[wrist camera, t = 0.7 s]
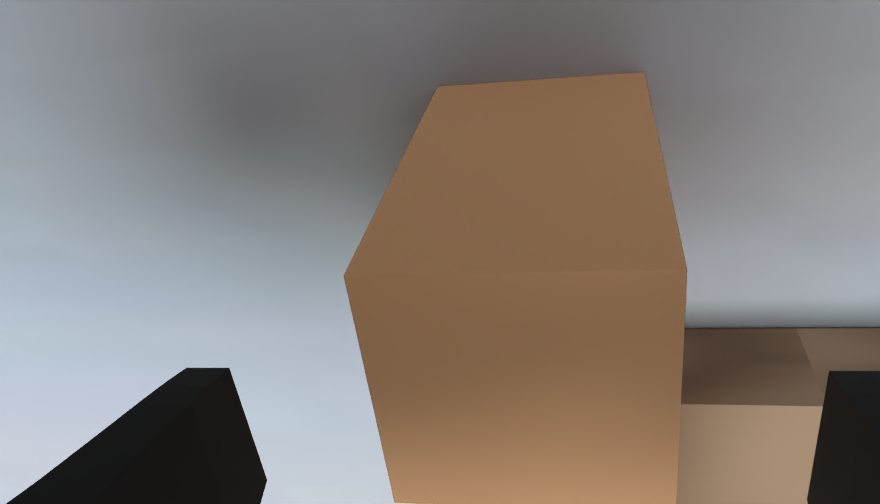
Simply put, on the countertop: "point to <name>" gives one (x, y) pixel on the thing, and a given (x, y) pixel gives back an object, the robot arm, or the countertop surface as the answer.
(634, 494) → the peg
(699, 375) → the socket block
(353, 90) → the countertop surface
